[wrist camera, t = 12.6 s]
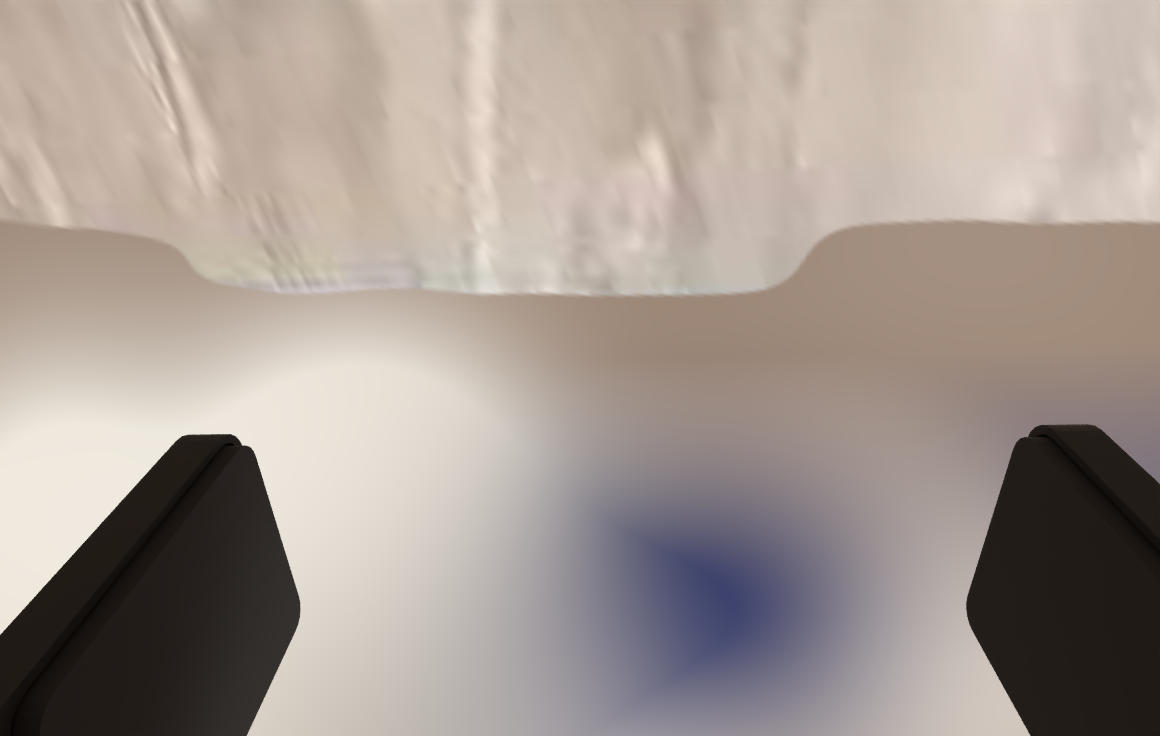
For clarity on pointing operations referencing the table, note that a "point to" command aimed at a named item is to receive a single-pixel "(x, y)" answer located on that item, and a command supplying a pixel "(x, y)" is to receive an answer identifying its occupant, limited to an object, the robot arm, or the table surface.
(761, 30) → the table surface
